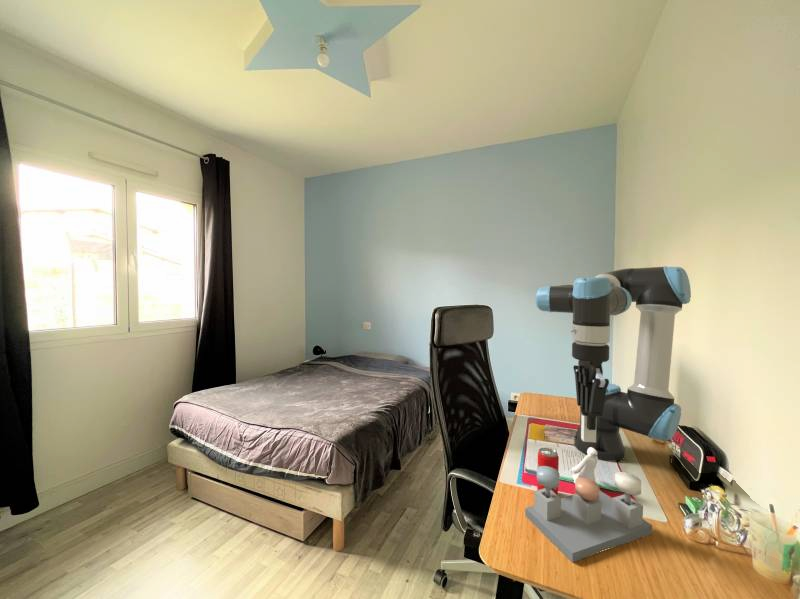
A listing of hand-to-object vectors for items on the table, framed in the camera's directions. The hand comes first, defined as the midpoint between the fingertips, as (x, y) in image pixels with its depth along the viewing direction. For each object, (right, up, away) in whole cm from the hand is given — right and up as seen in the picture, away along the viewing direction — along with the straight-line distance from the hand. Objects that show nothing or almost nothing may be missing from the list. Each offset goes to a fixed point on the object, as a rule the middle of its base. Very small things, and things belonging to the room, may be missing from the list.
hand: (588, 440), depth 74 cm
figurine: (+8, -20, +16) cm, 27 cm away
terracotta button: (0, -17, 0) cm, 18 cm away
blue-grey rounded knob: (-9, -15, +2) cm, 18 cm away
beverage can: (-4, -20, +11) cm, 24 cm away
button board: (0, -21, +1) cm, 21 cm away
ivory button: (+9, -15, -1) cm, 18 cm away
